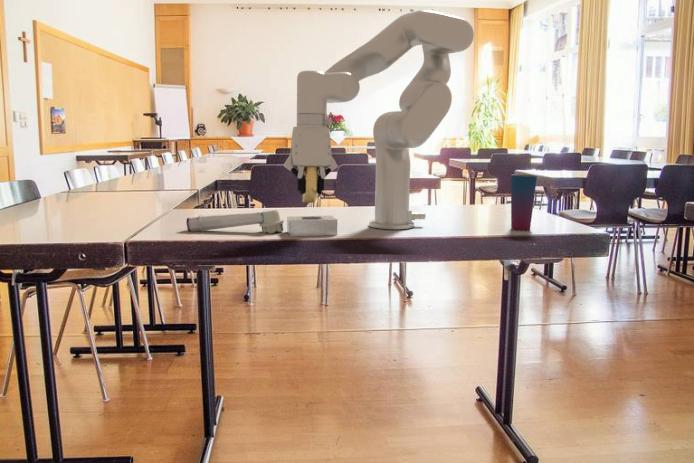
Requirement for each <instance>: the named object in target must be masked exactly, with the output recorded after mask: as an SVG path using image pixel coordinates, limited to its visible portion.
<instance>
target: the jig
mask: <svg viewBox="0 0 694 463" xmlns="http://www.w3.org/2000/svg"><path fill="white" fill-rule="evenodd" d="M286 232H287V233H288V235H289V236H290V237H314V236H315V237H317V236H338V218H336V217H334V216H332V215H308V216H307V215H305V216H304V215H302V216H301V215H300V216H296V215H295V216H286Z"/></svg>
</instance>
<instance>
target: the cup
mask: <svg viewBox="0 0 694 463" xmlns="http://www.w3.org/2000/svg"><path fill="white" fill-rule="evenodd" d="M537 179H538V175H537V174H529V173H527V174H526V173H520V174H519V173H516V174H514V173H513V174H511V175H510V189H511V190H510V199H511V200H510V215H511V216H510V218H511V219H510V223H511V224H510V229H511V230H513V229H514V230H513V231H518V230H528V231H530V230H531V224H532V217H533V210H534V204H535V202H534V201H535V194H536V187H537Z"/></svg>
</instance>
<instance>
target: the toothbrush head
mask: <svg viewBox="0 0 694 463" xmlns="http://www.w3.org/2000/svg"><path fill="white" fill-rule="evenodd" d="M185 223H186V224H185V225H186V228H187V231H188V232H189V233H190V232H192V233H193V232H203V233H204V231H212V230H219V229H228V228H235V227H236V228H237V227H241V226H242V227H243V226H250V225H252V226H253V225H259V227H261V232H262V233H264V234H266V233H268V234H269V235H270V234H275V233H276V232H279V233H280V232H283V231H284V223H285V220H284V219H281V216H280V213H279V211H278V209H276V208H275V209H274V208H273V209H267V210H264V211H260V212H246V213H230V214H229V213H228V214H216V215H215V214H214V215H203V214H200V215H198V216H192V217H187V218H186V222H185Z"/></svg>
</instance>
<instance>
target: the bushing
mask: <svg viewBox="0 0 694 463" xmlns="http://www.w3.org/2000/svg"><path fill="white" fill-rule="evenodd" d="M302 176H303V179H304V194H302V203H308V204H309V203H310V204H311V203H313V204H315V203H316V204H317V203H319V194H318V179H319V167H304V170H303V175H302Z"/></svg>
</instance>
